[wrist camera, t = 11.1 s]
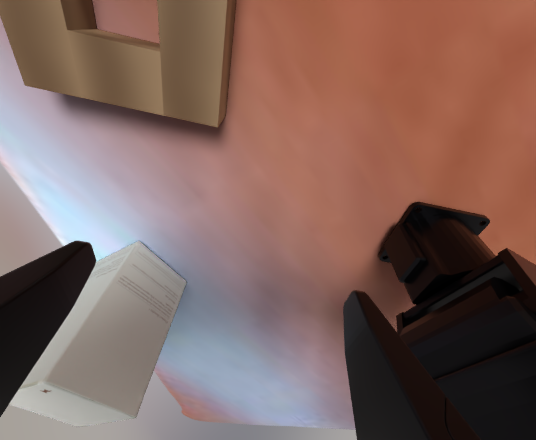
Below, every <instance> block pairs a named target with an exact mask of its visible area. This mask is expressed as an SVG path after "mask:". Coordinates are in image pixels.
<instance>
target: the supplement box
mask: <svg viewBox="0 0 536 440" xmlns="http://www.w3.org/2000/svg"><path fill="white" fill-rule="evenodd" d="M186 283H187V282H186V281H185V280H184V279H183V278H182V277H181V276H179V275H178V274H177V273H176V272H175V271H174V270H172V269H171V268H170V267H169V266H168V265H167V264H165V263H164V262H163V261H162V260H161V259H160V258H158V257H157V256H156V255H155V254H154V253H153V252H152V251H150V250H149V249H148V248H147V247H146V246H144V245H143V244H142V243H141V242H140V241H138V242H135V243H133V244H131V245H129V246H127V247H125V248H123V249H121V250H119V251H117V252H115V253H113V254H111V255H109V256H107V257H105V258H103V259H101V260H99V261H97V262H96V264H95V267H94V269H93V271H92V273H91V274H90V276H89V278H88V280H87V282H86V284H85V286H84V288H83V290H82V292H81V294H80V296H79V297H78V299H77V301H76V303H75V305H74V307H73V308H72V310H71V312H70V313H69V315H68V316H67V318H66V319H65V321H64V322H63V324H62V325H61V327H60V328H59V330H58V331H57V333H56V334H55V336H54V337H53V339H52V340H51V342H50V343H49V345H48V346H47V348H46V349H45V351H44V352H43V354H42V355H41V357H40V358H39V360H38V361H37V363H36V364H35V366H34V367H33V369H32V370H31V372H30V373H29V375H28V376H27V378H26V379H25V381H24V382H23V384H22V385H21V387H20V388H19V390H18V391H17V393H16V394H15V396H14V397H13V399H12V400H11V402H10V403H9V405H12V406H15V407H18V408H21V409H25V410H28V411H31V412H34V413H37V414H40V415H43V416H46V417H49V418H52V419H55V420H58V421H61V422H64V423H67V424H70V425H73V426H76V427H83V426H90V425H97V424H104V423H109V422H116V421H121V420H127V419H134V418H136V417H137V414H138V411H139V408H140V406H141V403H142V400H143V397H144V394H145V392H146V389H147V386H148V384H149V381H150V379H151V376H152V373H153V371H154V368H155V365H156V363H157V360H158V357H159V355H160V352H161V350H162V347H163V344H164V342H165V339H166V336H167V334H168V331H169V328H170V326H171V323H172V320H173V318H174V315H175V313H176V310H177V307H178V305H179V302H180V299H181V296H182V294H183V291H184V288H185V286H186Z"/></svg>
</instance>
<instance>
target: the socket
mask: <svg viewBox="0 0 536 440" xmlns="http://www.w3.org/2000/svg"><path fill="white" fill-rule="evenodd" d="M157 2H158V21H159V39H160V44H158V43H153V42H149V41H145V40H141V39H137V38H132V37H128V36H124V35H120V34H115V33H111V32H107V31H103V30H99V29H97V27H96V21H95V16H94V10H93V4H92V0H0V16H1V19H2V22H3V25H4V28H5V31H6V33H7V36H8V39H9V42H10V45H11V48H12V50H13V53H14V56H15V59H16V62H17V65H18V67H19V70H20V73H21V76H22V79H23V81H24V84H25V86H30V87H34V88H39V89H44V90H48V91H53V92H57V93H62V94H67V95H71V96H76V97H80V98H85V99H90V100H94V101H99V102H103V103H108V104H113V105H117V106H122V107H126V108H131V109H136V110H140V111H145V112H149V113H154V114H159V115H163V116H168V117H172V118H177V119H181V120H186V121H191V122H195V123H200V124H204V125H209V126H214V127H218V126H219V125H220V123H221V122H222V120H223V119H224V117H225V116H226V108H227V97H228V86H229V75H230V64H231V53H232V42H233V31H234V20H235V9H236V0H157Z"/></svg>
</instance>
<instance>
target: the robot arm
mask: <svg viewBox="0 0 536 440" xmlns="http://www.w3.org/2000/svg"><path fill="white" fill-rule="evenodd" d="M418 207H419V209H417V210H415V209H416V208H418ZM481 221H482V222H481ZM489 223H490V220H489V219H488V218H487V217H486V216H484V215H480V214H475V213H470V212H465V211H460V210H456V209H451V208H446V207H441V206H436V205H432V204H427V203H422V202H415V203H413V204H412V205H411V206H410V207H409V209H408V210H407V212H406V213H405V215H404V216H403V218H402V219H401V221H400V222H399V224H398V225H397V226H396V227H395V229H394V230H393V232H392V233H391V235H390V237H389V238H388V240H387V241H386V243H385V244H384V247H383V248H382V250H381V251H380V253H379V255H378V256H379V258H380V260H381V261H384V262H390V263H392V265H393V268H394V270H395V272H396V275H397V277H398V279H399V281H400V282H402V283H404V285H405V287H406V289H407V291H408V294H409V296H410V298H411V300H412V303H413V304H416V306H414V307H413V308H411V309H409V310H408V311H406V312H404V313H403V312H402V313H400V314H399V315H397V316H396V319H397V332H396V331H395V329H394V328H393V327H392V326H391V324H390V323H389V322H388V320H387V319H386V318H385V317H384V315H383V314H382V313H381V311H380V310H379V309H378V308H377V306H376V305H375V304H374V302H373V301H372V300H371V299H370V297H369V296H368V295H367V294H366V293H365V292H363V291H357V290H354V291H352V292H351V294H350V295H349V297H348V298H347V300H346V302H345V303H344V307H343V315H344V345H345V357H346V364H347V371H348V378H349V386H350V393H351V400H352V407H353V414H354V421H355V428H356V435H357V440H536V265H535V264H533V263H531V262H530V261H528V260H526V259H525V258H523V257H521V256H520V255H518V254H516V253H515V252H513V251H511V250H510V249H508V248H506V249H504V250H502V251H501V252H499V253H498V255H497V256H495V255H494V254H493V252H492V251H491V250H490V249H489V248H488V247H487V246H486V245H485V243H484V242H483V241H482V240H481V239H480V238H479V237H478V235H479V234H480V233H481V232H482V231H483V230H484V229H485V228H486V227H487V226H488V224H489ZM95 264H96V258H95V255H94V252H93V248H92V246H91V244H90V243H88V242H83V241H74V242H71V243H69V244H67V245H65V246H63V247H61V248H59V249H57V250H55V251H53V252H51V253H49V254H46V255H44V256H42V257H40V258H38V259H36V260H34V261H32V262H30V263H28V264H26V265H24V266H21V267H19V268H17V269H15V270H13V271H11V272H9V273H7V274H5V275H3V276H1V277H0V417H1V415H2V414H3V412H4V411H5V409H6V408H7V406H8V405H9V403H10V402H11V400H12V399H13V397H14V396H15V394H16V393H17V391H18V390H19V388H20V387H21V385H22V384H23V382H24V381H25V379H26V378H27V376H28V375H29V373H30V372H31V370H32V369H33V367H34V366H35V364H36V363H37V361H38V360H39V358H40V357H41V355H42V354H43V352H44V351H45V349H46V348H47V346H48V345H49V343H50V342H51V340H52V339H53V337H54V336H55V334H56V333H57V331H58V330H59V328H60V327H61V325H62V324H63V322H64V321H65V319H66V318H67V316H68V315H69V313H70V312H71V310H72V308H73V307H74V305H75V303H76V301H77V299H78V297H79V296H80V294H81V292H82V290H83V288H84V286H85V284H86V282H87V280H88V278H89V276H90V274H91V273H92V271H93V269H94V267H95Z"/></svg>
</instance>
